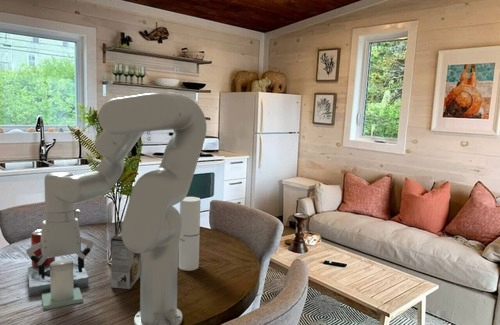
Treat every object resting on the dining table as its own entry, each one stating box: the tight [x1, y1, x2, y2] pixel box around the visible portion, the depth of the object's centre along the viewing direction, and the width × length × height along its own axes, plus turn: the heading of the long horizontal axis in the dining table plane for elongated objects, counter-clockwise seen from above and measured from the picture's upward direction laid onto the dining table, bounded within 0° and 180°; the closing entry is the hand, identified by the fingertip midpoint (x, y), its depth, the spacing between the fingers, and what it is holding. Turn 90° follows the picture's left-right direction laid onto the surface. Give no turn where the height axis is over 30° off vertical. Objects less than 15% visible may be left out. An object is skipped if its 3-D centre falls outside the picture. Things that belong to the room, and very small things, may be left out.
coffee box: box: [110, 229, 141, 290], centre depth 123 cm, size 9×6×16 cm
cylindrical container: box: [178, 196, 202, 272], centre depth 137 cm, size 7×7×25 cm
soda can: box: [30, 228, 56, 267], centre depth 134 cm, size 7×7×12 cm
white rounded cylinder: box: [50, 258, 74, 301], centre depth 111 cm, size 6×6×10 cm
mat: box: [41, 287, 84, 310], centre depth 112 cm, size 8×10×1 cm
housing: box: [27, 259, 89, 298], centre depth 123 cm, size 16×16×3 cm
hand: (61, 273), depth 111 cm, fingers open, 9 cm apart
